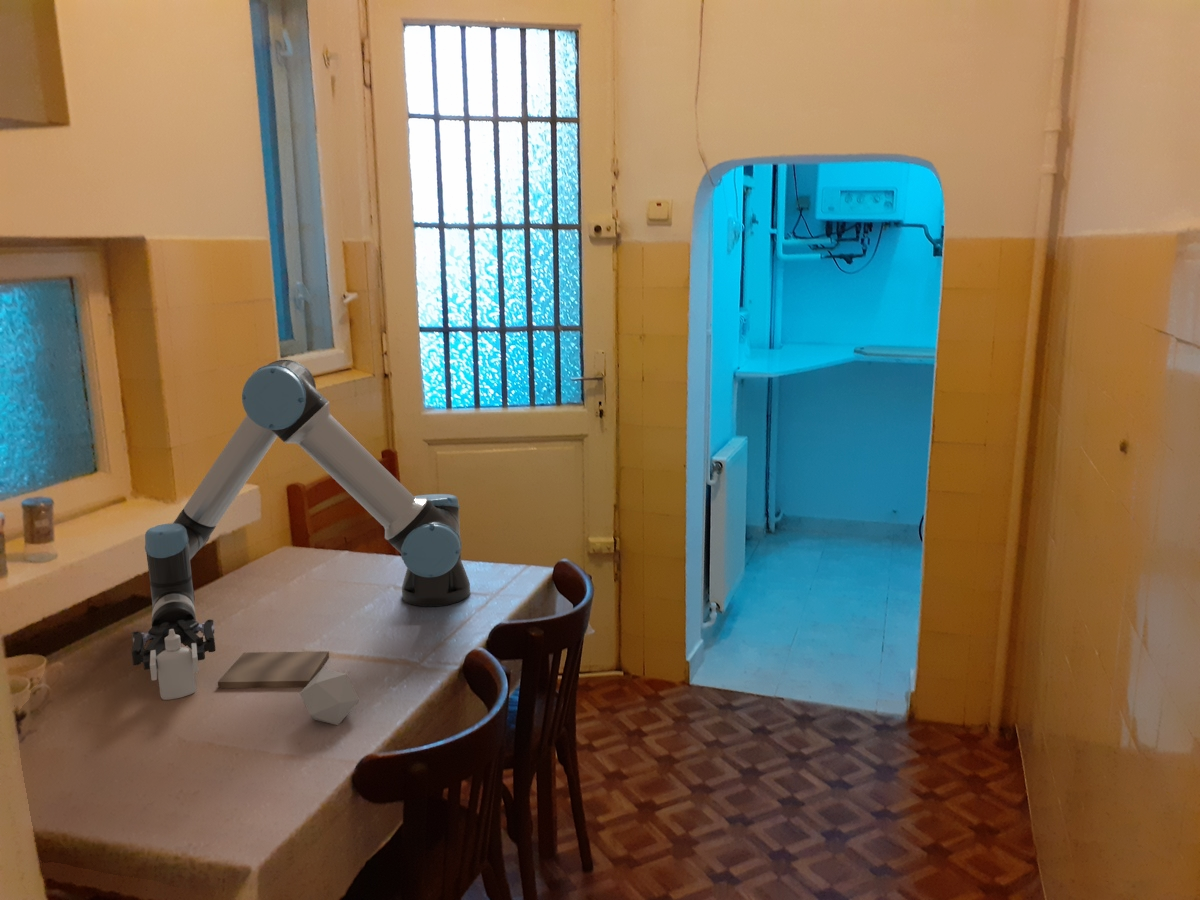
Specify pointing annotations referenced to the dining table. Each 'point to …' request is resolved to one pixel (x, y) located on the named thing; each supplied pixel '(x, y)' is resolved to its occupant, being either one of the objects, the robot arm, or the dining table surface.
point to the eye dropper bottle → (175, 669)
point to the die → (329, 696)
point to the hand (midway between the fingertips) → (174, 668)
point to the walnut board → (274, 669)
